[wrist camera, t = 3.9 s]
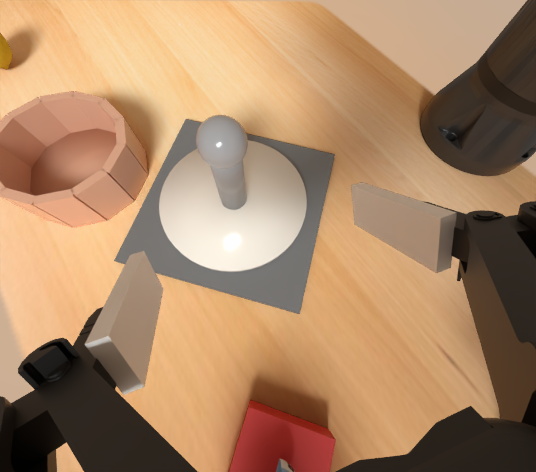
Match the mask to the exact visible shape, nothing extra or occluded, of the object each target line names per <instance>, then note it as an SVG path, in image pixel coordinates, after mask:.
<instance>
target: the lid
mask: <svg viewBox="0 0 536 472" xmlns="http://www.w3.org/2000/svg"><path fill="white" fill-rule="evenodd" d="M196 146H197V149H195V150H194V151H192V152H191V153H189V154H187V155H186V156H185V157H184V158H183V159H181V160H180V161H179V162H178V163H177V164H176V165H175V166H174V168H173V169H172V170H171V172H170V173H169V175H168V177H167V178H166V180H165V182H164V185H163V187H162V191H161V195H160V201H159V214H160V219H161V223H162V226H163V229H164V231H165V233H166V235H167V237H168V239H169V240H170V241H171V243H172V244H173V245H174V246H175V247H176V248H177V249H178V250H179V251H180V252H181V253H182V254H183V255H184V256H185V257H186V258H188V259H189V260H191V261H192V262H194V263H196V264H198V265H200V266H202V267H205V268H207V269H210V270H215V271H220V272H243V271H249V270H253V269H256V268H259V267H262V266H264V265H266V264H268V263H270V262H272V261H273V260H275V259H277V258H278V257H279V256H280V255H282V254H283V253H284V252H285V251H286V250H287V249H288V248H289V247H290V246H291V245H292V243H293V242H294V240H295V239H296V237H297V236H298V234H299V232H300V230H301V227H302V225H303V222H304V219H305V214H306V209H307V197H306V190H305V187H304V183H303V181H302V178H301V176H300V174H299V173H298V171H297V169H296V168H295V167H294V166H293V164H292V163H291V162H290V161H289V160H288V159H287V158H286V157H285V156H283V155H282V154H281V153H279V152H278V151H276V150H275V149H273V148H271V147H269V146H267V145H264V144H261V143H258V142H255V141H249V140H247V135H246V133H245V130H244V129H243V127H242V126H241V124H240V123H239V122H238V121H236V120H235V119H233V118H232V117H229V116H226V115H215V116H211V117H209V118H208V119H206V120H205V121H204V122H203V123H202V124H201V125H200V127H199V129H198V132H197V135H196Z"/></svg>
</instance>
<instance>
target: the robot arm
mask: <svg viewBox="0 0 536 472" xmlns="http://www.w3.org/2000/svg"><path fill="white" fill-rule="evenodd" d="M421 131H422V134H423V137H424V139H425V141H426V143H427V144H428V146H429V147H430V148H431V150H432V151H433V152H434V153H435V154H436V155H437V156H438V157H439V158H441V159H442V160H443V161H445V162H446V163H448V164H449V165H451V166H453V167H455V168H457V169H459V170H461V171H464V172H467V173H470V174H475V175H481V176H495V175H500V174H504V173H507V172H509V171H511V170H512V169H514V168H515V167H517V166H519V165H520V164H522V163H523V162H525V161H526V160H528V159H529V158H530V157H531V156H532V155H533V154H534V153H535V152H536V0H527V1H526V3H525V4H524V5H523V6H522V8H521V9H520V10H519V11H518V12H517V14H516V15H515V16H514V17H513V19H512V20H511V21H510V22H509V24H508V25H507V26H506V27H505V28H504V30H503V31H502V32H501V33H500V34H499V36H498V37H497V38H496V39H495V41H494V42H493V43H492V44H491V45H490V47H489V48H488V49H487V51H486V52H485V53H484V54H483V56H482V57H481V58H480V59H479V60H478V61H477V63H475V64H474V65H473V66H471V67H470V68H469V69H468V70H466V71H465V72H464V73H462V74H461V75H460V76H458V77H457V78H456V79H454V80H453V81H452V82H451V83H449V84H448V85H447V86H446V87H444V88H443V89H442V90H440V91H439V92H438V93H437V94H436V95H435V96H434V97H433V98H432V100H431V101H430V102H429V104H428V105H427V106H426V108H425V109H424V111H423V113H422V116H421ZM351 188H352V201H353V213H354V224H355V225H357V226H358V227H360V228H362V229H363V230H365V231H367V232H369V233H370V234H372V235H374V236H375V237H377V238H379V239H380V240H382V241H384V242H385V243H387V244H389V245H390V246H392V247H394V248H395V249H397V250H399V251H400V252H402V253H404V254H405V255H407V256H409V257H410V258H412V259H414V260H415V261H417V262H419V263H420V264H422V265H424V266H425V267H427V268H429V269H430V270H432V271H434V272H435V273H438V272H441V271H443V270H446V269H448V268H451V260H452V256H453V257H456V258H458V259H460V261H459V269H458V277H457V281H460V279H461V278H462V280H463V284H464V287H465V291H466V294H467V298H468V301H469V305H470V308H471V312H472V315H473V318H474V322H475V325H476V329H477V332H478V336H479V339H480V343H481V346H482V350H483V353H484V357H485V360H486V364H487V367H488V371H489V374H490V378H491V381H492V385H493V388H494V392H495V395H496V399H497V402H498V406H499V411H500V419H498V418H482V417H481V416H480V415H479V414H478V413H477V412H476V411H475V410H474V409H473V408H472V407H471V406H470V407H468V408H465V409H463V410H461V411H459V412H457V413H455V414H453V415H451V416H449V417H447V418H445V419H443V420H441V421H439V422H437V423H436V424H435V425H434V426H433V427H432V428H431V429H430V430H429V431H428V432H427V434H426V435H425V436H424V437H423V438H422V439H421V440H420V441H419V442H418V444H417V445H416V446H415V447H414V448H413V449H412V450H411V451H410V452H409V453H408V454H406V455H401V456H392V457H383V458H375V459H366V460H359V461H357V462H355V463H353V464H351V465H348V466H346V467H344V468H342V469H340V470H338V471H336V472H536V202H527V203H523V204H521V205H520V208H519V213H518V215H514V216H508V217H505V216H504V215H503V214H500V213H497V212H493V211H473V212H469V213H467V214H464V213H460V212H457V211H454V210H451V209H448V208H443V207H441V206H438V205H437V206H436V205H435V204H432V203H429V202H423V201H419V200H416V199H413V198H410V197H407V196H403V195H400V194H397V193H394V192H391V191H388V190H385V189H382V188H378V187H375V186H372V185H369V184H366V183H363V182H361V183H358V184H355V185H351ZM162 293H163V287H162V285H161V283H160V281H159V279H158V277H157V275H156V273H155V272H154V270H153V268H152V266H151V264H150V262H149V260H148V258H147V256H146V254H145V252H144V251H141V252H138V253H135V254H132V255H130V256H129V258H128V260H127V262H126V264H125V266H124V268H123V270H122V272H121V274H120V276H119V278H118V280H117V282H116V284H115V286H114V288H113V290H112V291H111V293H110V295H109V297H108V299H107V301H106V303H105V305H104V307H102V308H99V309H97V310H96V311H95V312H94V313H93V314H92V315H91V316H90V317H89V318H88V320H87V322H86V323H85V325H84V328H83V329H82V331H81V332H80V334H79V335H80V336H78V338H77V340H76V341H75V343H74V345H73V346H72V345H71V344H70V343H69V341H68V340H67V339H64V338H59V339H55V340H52V341H50V342H47V343H46V344H44V345H42V346H41V347H39V348H37V349H36V350H35V351H33V352H32V353H31V354H29V355H28V356H27V357H26V359H25V360H24V361H23V362H22V363H21V365H20V366H19V368H18V373H19V374H20V375H21V376H22V377H23V378H24V379H25V380H26V381H27V382H28V383H29V384H30V385H31V386H32V387H33V388H34V389H35V390H34V391H32V392H30V393H28V394H27V395H25V396H23V397H21V398H20V399H18V400H16V401H15V402H13V403H10V402H9V401H8V400H6V399H5V398H4V397H0V472H57V464H56V449H57V448H59V447H60V446H62V445H63V444H64V443H66V442H67V444H68V445H69V447H70V449H71V450H72V452H73V454H74V455H75V457H76V459H77V460H78V462H79V464H80V465H81V467H82V469H83V470H84V472H197V471H196V470H195V469H194V468H193V467H192V466H191V465H190V464H189V463H188V462H187V461H186V460H185V459H184V458H183V457H182V456H181V455H180V454H179V453H178V452H177V451H176V450H175V449H174V448H173V447H172V446H171V445H170V444H169V443H168V442H167V441H166V440H165V439H164V438H163V437H162V436H161V435H160V434H159V433H158V432H157V431H156V430H155V429H154V428H153V427H152V426H151V425H150V424H149V423H148V422H147V421H146V420H145V419H144V418H143V417H142V416H141V415H140V414H139V413H138V412H137V411H136V410H135V409H134V408H133V407H132V406H131V405H130V404H129V403H128V402H127V401H125V400H124V399H123V398H122V397H121V396H120V395H119V394H118V393H117V392H116V391H115V388H116V386H117V387H118V388H119V389H120V391H121V392H122V393H123V395H125V394H127V393H130V392H132V391H135V390H138V389H140V388H143V387H144V386H145V381H146V375H147V370H148V365H149V360H150V355H151V350H152V345H153V340H154V334H155V329H156V324H157V319H158V314H159V309H160V304H161V298H162Z"/></svg>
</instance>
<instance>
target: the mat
mask: <svg viewBox="0 0 536 472" xmlns="http://www.w3.org/2000/svg"><path fill="white" fill-rule="evenodd" d="M201 124H202V123H201V122H196V121H192V120H188V119H186V120H185V122H184V124H183V126H182V128H181V130H180V132H179V134H178V136H177V138H176V140H175V142H174V143H173V145H172V147H171V149H170V151H169V153H168V155H167V157H166V159H165V161H164V163H163V165H162V167H161V169H160V171H159V173H158V175H157V177H156V179H155V181H154V183H153V185H152V187H151V189H150V191H149V193H148V195H147V197H146V199H145V201H144V203H143V205H142V207H141V209H140V211H139V213H138V215H137V217H136V219H135V221H134V223H133V225H132V227H131V229H130V231H129V233H128V235H127V237H126V238H125V240H124V242H123V244H122V246H121V248H120V250H119V252H118V254H117V256H116V258H115V260H114V261H116V262H119V263H123V264H126V262H127V260H128V258H129V256H130V255H132V254H135V253H138V252H141V251H144V252H145V254H146V256H147V258H148V260H149V262H150V264H151V266H152V268H153V270H154V272H155V273H158V274H161V275H165V276H168V277H172V278H175V279H179V280H182V281H186V282H189V283H193V284H196V285H200V286H203V287H207V288H210V289H214V290H217V291H221V292H224V293H228V294H231V295H235V296H238V297H241V298H245V299H248V300H252V301H255V302H259V303H262V304H266V305H269V306H273V307H276V308H280V309H283V310H287V311H290V312H294V313H297V314H300V310H301V305H302V301H303V296H304V292H305V287H306V283H307V278H308V273H309V269H310V264H311V260H312V255H313V251H314V246H315V242H316V237H317V233H318V228H319V224H320V219H321V215H322V210H323V206H324V201H325V197H326V192H327V187H328V183H329V178H330V174H331V169H332V165H333V160H334V156H335V154H331V153H326V152H322V151H318V150H314V149H310V148H306V147H301V146H297V145H293V144H289V143H285V142H280V141H276V140H272V139H268V138H264V137H259V136H255V135H251V134H247V133H246V135H247V140H249V141H255V142H258V143H261V144H264V145H267V146H269V147H271V148H273V149H275V150H276V151H278V152H279V153H281V154H282V155H283V156H285V157H286V158H287V159H288V160H289V161H290V162H291V163H292V164H293V166H294V167H295V168H296V169H297V171H298V173H299V174H300V176H301V178H302V181H303V183H304V187H305V190H306V197H307V209H306V214H305V219H304V222H303V225H302V227H301V230H300V232H299V234H298V236H297V237H296V239H295V240H294V242H293V243H292V245H291V246H290V247H289V248H288V249H287V250H286V251H285V252H284V253H283V254H282V255H280V256H279V257H278V258H277V259H275V260H273V261H272V262H270V263H268V264H266V265H264V266H262V267H259V268H256V269H253V270H249V271H243V272H220V271H215V270H210V269H207V268H205V267H202V266H200V265H198V264H196V263H194V262H192V261H191V260H189V259H188V258H186V257H185V256H184V255H183V254H182V253H181V252H180V251H179V250H178V249H177V248H176V247H175V246H174V245H173V244H172V243H171V241H170V240H169V239H168V237H167V235H166V233H165V231H164V229H163V226H162V223H161V219H160V214H159V201H160V195H161V191H162V187H163V185H164V182H165V180H166V178H167V177H168V175H169V173H170V172H171V170H172V169H173V168H174V166H175V165H176V164H177V163H178V162H179V161H180V160H181V159H183V158H184V157H185V156H186V155H187V154H189V153H191V152H192V151H194V150H195V149H197V146H196V135H197V132H198V129H199V127H200V125H201Z"/></svg>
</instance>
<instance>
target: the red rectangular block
mask: <svg viewBox="0 0 536 472" xmlns="http://www.w3.org/2000/svg"><path fill="white" fill-rule="evenodd" d="M334 445H335V438H334V437H333V435H332V434H331V432H330V431H329V429H327V428H324V427H322V426H319V425H316V424H314V423H311V422H308V421H306V420H303V419H300V418H298V417H295V416H292V415H290V414H287V413H285V412H282V411H279V410H277V409H274V408H271V407H269V406H266V405H263V404H261V403H258V402H255V401H253V400H250V403H249V406H248V409H247V413H246V416H245V419H244V423H243V426H242V429H241V433H240V436H239V439H238V443H237V446H236V449H235V452H234V456H233V459H232V462H231V466H230V469H229V472H329V471H330V466H331V461H332V456H333V451H334Z"/></svg>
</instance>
